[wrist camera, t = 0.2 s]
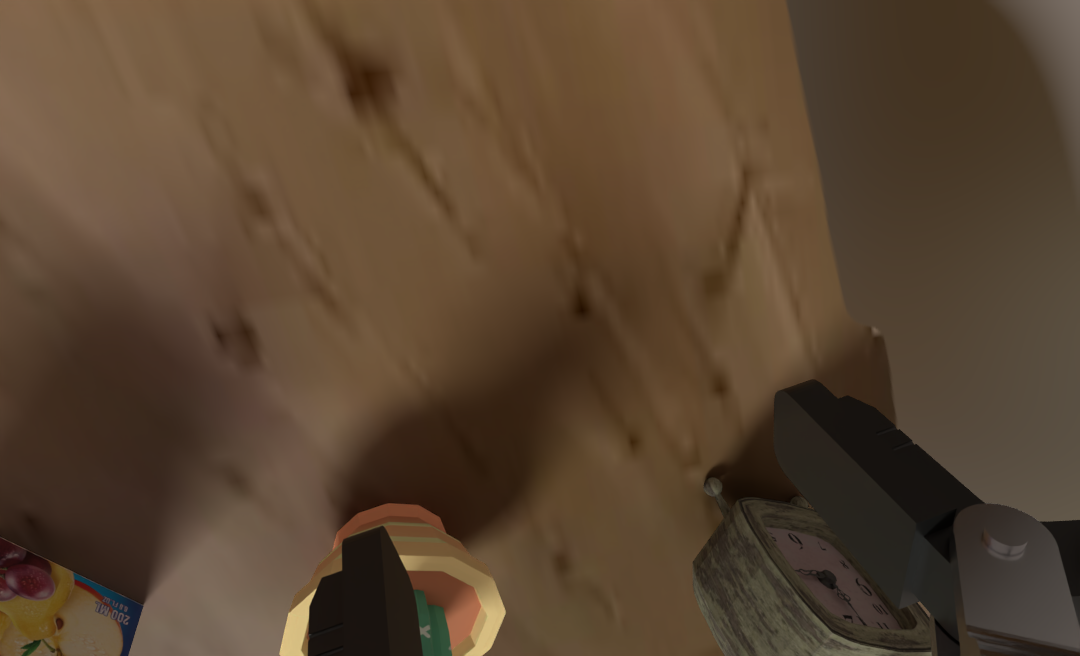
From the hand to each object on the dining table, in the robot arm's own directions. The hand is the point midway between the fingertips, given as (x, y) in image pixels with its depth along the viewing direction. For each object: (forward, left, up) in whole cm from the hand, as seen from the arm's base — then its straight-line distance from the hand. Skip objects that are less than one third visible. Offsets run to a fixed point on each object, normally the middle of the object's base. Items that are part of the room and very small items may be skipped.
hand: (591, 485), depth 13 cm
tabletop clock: (+41, +18, -29) cm, 53 cm away
